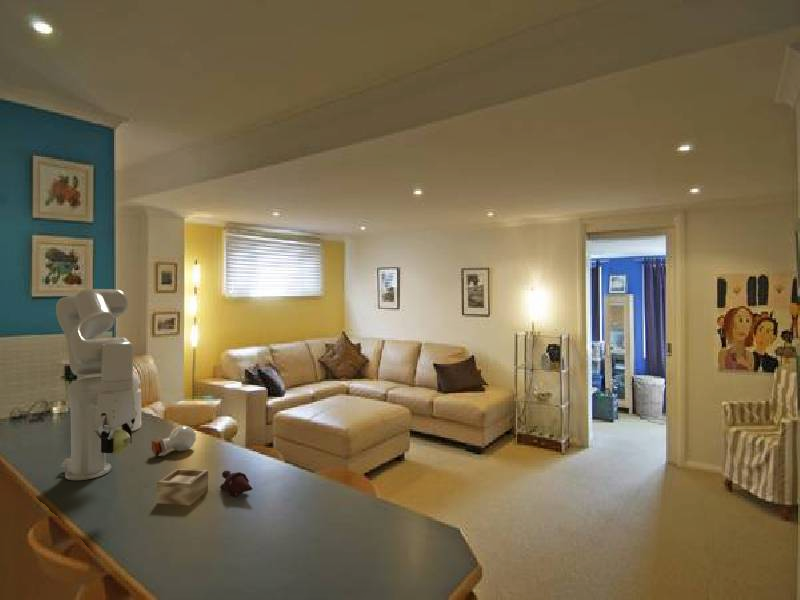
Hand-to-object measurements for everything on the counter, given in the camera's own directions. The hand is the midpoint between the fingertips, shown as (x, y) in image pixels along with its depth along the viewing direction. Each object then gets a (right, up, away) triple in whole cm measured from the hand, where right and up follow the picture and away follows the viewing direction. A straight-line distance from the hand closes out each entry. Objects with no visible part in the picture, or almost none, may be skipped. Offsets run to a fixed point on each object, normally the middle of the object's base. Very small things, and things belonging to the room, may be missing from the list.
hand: (116, 447), depth 129 cm
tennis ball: (0, -1, 0) cm, 1 cm away
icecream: (+31, -17, +9) cm, 36 cm away
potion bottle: (-4, -16, +42) cm, 46 cm away
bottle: (-40, -15, +69) cm, 81 cm away
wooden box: (+16, -17, +7) cm, 24 cm away
